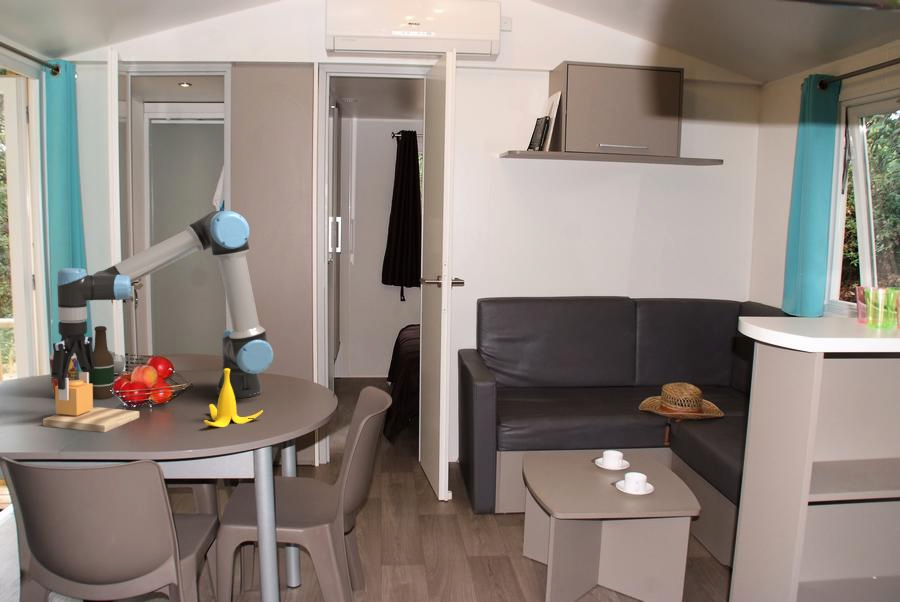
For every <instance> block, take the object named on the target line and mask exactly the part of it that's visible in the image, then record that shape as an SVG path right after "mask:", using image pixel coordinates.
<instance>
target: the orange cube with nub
mask: <svg viewBox="0 0 900 602" xmlns="http://www.w3.org/2000/svg"><path fill="white" fill-rule="evenodd" d="M54 398H55V399H54V400H55V414H67V415H76V416H77V415H80V414H82V413H85V412H88V411H90V410H93V407H94V399H93V384H91V383H84V382H83V381H82V380H79V379H76V380H70V381H69V400H59V389H58V386H56V387H55V396H54Z"/></svg>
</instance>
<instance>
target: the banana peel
mask: <svg viewBox="0 0 900 602" xmlns="http://www.w3.org/2000/svg"><path fill="white" fill-rule="evenodd" d="M229 374H230V369H229V368H226V369H224V376H225V378H224V384H223V387H222V389H221V392H220V395H218V396H219V397H218V399H217V406H215V405H214V404H213V403H211V404H209V405H208V408H209V413H210V417H211V419H212V421H208V420H207V419H204V420H203V422H204V424H205V425H206V426H211V427H218V428H224V427H228V425H229V424H230V422H231V420H232V421H233V422H234V424H237V425H239V424H246V423H249V422H251V421H253V420H254V419H256V418H257V417H259V416H260V415H261V414H262V413H263V412H264V410H263V409H262V410H260V411H259V412H256V413H255V414H252V415H248V416H243V417H242V416H239V415H238V413H237V412H238V411H237V401H236V398H235V396H234V393H233V390H232V387H231V384H230V380H229ZM248 418H254V419H248Z"/></svg>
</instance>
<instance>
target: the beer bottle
mask: <svg viewBox="0 0 900 602" xmlns="http://www.w3.org/2000/svg"><path fill="white" fill-rule="evenodd" d="M107 330H108V329H107V326H104V325H97V326H95V327H94V332H95V333H94V345H93V347H94V348H93V358H94V365H95V367H94V368H92V369H93V371H92V372H89V383H91V384H93V400H106V399H111V398H114V397H115V393H114V394H112V392H111V391H110V390H112V388H113V384H114V385H115V375H114V361H113V357H112V355H111V353H110V352H109V351H110V350H109V349H108V340H107ZM89 364H90V363H89Z"/></svg>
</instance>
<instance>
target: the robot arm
mask: <svg viewBox="0 0 900 602" xmlns="http://www.w3.org/2000/svg"><path fill="white" fill-rule="evenodd" d="M249 236H250V225H249V223H248V222H247V220H246V218H244V217H243V216H242V215H241V214H239V213H237V212H235V211H232V210H216V211H212V212H210V213H208V214H206V215H205V216H203V217H201V218H199V219H198V220H196V221H195V222H193V223H190V224H188V225H186V229H185V230H184V231H182V232H179V233H178V234H175V235H174V236H173V235H172V236H171V237H169V238H167V239H165V240H163V241H161V242H158V243H157V244H155V245H152V246H150V247H148V248H147V249H145V250H142V251H140V252H138V253H137V254H133V255H132V256H130V257H128V258H126V259H124V260H122V261H119V262H118V263H116V264H114V265H112V266H110V267H107V268H105V269H103V270H98V271H96V272H95V273H94V274H91V275H90V274H88V273H87V269H85V268H82V267H81V268H78V267H68V268H67V267H65V268H61V269H59V270H58V271H57V281H56V282H57V283H56V285H57V286H56V288H57V307H58V308H57V309H58V310H57V311H58V312H57V313H58V316H57V317H58V318H57V319H58V320H59V322H58V323H57V324H58V325H57V326H58V334H59V335H60V336H61V338H60V342H59V341H58V342H54V343H53V344H52V348H53V351H54V355H53V365H52V377H54V378H57V379H58V389H59V400H69V378H66V376H67V372H68V369H69V365H70V361H71V357H72V356H73V355H74V353H75V354H76V357H77V364H78V366H79V368H80V371H78V377H79V378H78V380H82V381H83V382H84V383H89V372H92V371H93V369H92V368H94V367H95V365H94V358H93V351H94V349H93V337H92V336H85V335H86V334H87V333H88V321H86V320H88V305H87V303H88V302H87V301H120V300H122V301H123V300H129V299H130V297H131V294H132V293H131V292H132V283H135V282H137V281H139V280H141V279H143V278H145V277H147V276H149V275H151V274H153V273H155V272H157V271H159V270H161V269H163V268H165V267H167V266H169V265H171V264H174V263H175V262H177V261H179V260H181V259H184V258H185V257H187V256H189V255H191V254H193V253H195V252H197V251H199V252H204V251H206V250H208V249H211V253H212V256H213V257H214V258H216V260H218V263H219V268H220V273H221V278H222V282H223V287H224V293H225V296H226V302H227V306H228V307H227V308H228V312H229V317H230V322H231V326H232V329H226V330H225V329H224V330H223V332H222V338H221V341H222V372H221V375H220V378H219V381H218V385H217V388H216V389H217V390H216V391H217V392H216V394H217V395H218V396H219V395H220V392H221V389H222V387H223V384H224V378H225V376H224V369H226V368H229V369H230V374H229V380H230V384H231V387H232V390H233V393H234V396H235V399H241V398H242V399H243V398H251V397H256V396H259V395H261V394H262V392H263V391H262V390H263V389H262V383H261V380H260V378H259V374H261V373H263V372H265V370H267V369H268V368H269V367H270V365H271V364H272V362H273V359H274V351H273V347H272V346H271V344H270V343H269V342H268V338H267V335H266V334H267V333H266V329H265V328H264V327H262V326H261V325H260V322H259V318H258V317H259V316H258V312H257V307H256V301H255V296H254V291H253V285H252V281H251V277H250V271H249V266H248V261H247V254H248V252H249V251H250V245H249V241H248V239H249ZM89 363H90V364H89ZM62 373H63V374H62ZM260 391H261V392H260ZM257 392H259V393H257ZM254 393H256V394H254ZM250 394H251V395H250Z"/></svg>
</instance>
